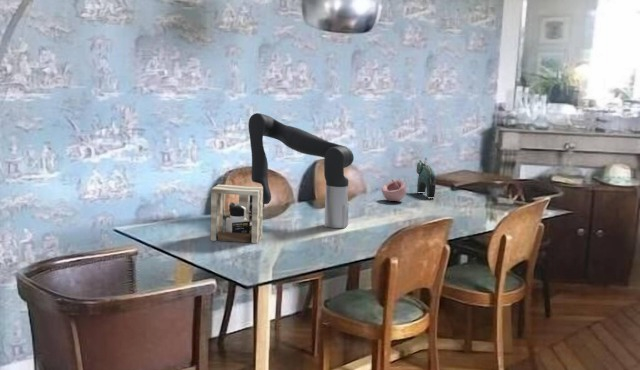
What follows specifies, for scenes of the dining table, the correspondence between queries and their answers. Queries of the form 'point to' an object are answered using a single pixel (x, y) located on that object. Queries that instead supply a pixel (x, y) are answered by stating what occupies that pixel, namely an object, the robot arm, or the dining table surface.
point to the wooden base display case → (238, 237)
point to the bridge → (239, 190)
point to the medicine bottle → (237, 220)
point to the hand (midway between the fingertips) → (242, 211)
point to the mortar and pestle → (394, 190)
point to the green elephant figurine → (426, 178)
